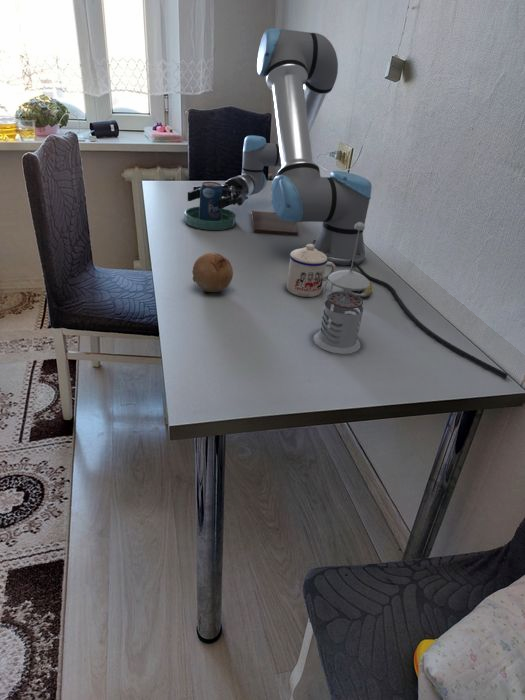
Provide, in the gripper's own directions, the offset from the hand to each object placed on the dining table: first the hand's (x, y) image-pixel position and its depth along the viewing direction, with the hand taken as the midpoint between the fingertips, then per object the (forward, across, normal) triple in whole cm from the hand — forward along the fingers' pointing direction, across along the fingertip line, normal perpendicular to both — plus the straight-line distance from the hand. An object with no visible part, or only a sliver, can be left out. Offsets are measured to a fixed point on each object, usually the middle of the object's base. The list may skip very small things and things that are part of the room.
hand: (204, 200), depth 155 cm
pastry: (+18, -57, -7) cm, 60 cm away
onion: (+39, -27, -8) cm, 48 cm away
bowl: (-4, 0, -8) cm, 9 cm away
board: (-17, -17, -8) cm, 25 cm away
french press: (+44, -60, -8) cm, 75 cm away
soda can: (-4, 0, -8) cm, 9 cm away
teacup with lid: (+25, -46, -8) cm, 53 cm away
